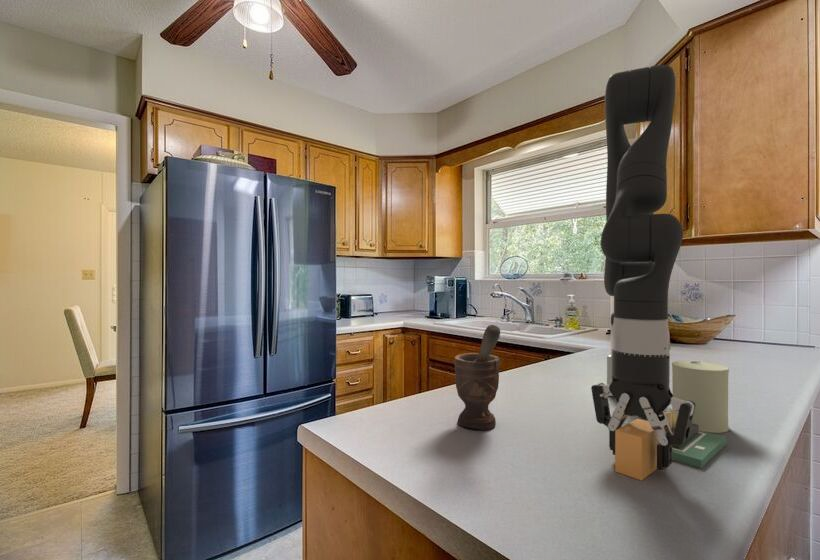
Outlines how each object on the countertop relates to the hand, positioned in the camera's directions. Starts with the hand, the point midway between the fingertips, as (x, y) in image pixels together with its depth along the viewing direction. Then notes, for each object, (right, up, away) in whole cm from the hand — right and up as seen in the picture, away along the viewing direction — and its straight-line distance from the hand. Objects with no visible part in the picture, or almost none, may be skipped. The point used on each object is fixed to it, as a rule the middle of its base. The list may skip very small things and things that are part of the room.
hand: (639, 460), depth 61 cm
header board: (+11, -1, +9) cm, 14 cm away
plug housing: (0, -1, 0) cm, 1 cm away
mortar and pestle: (-20, -1, +17) cm, 27 cm away
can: (+22, -1, +19) cm, 29 cm away
